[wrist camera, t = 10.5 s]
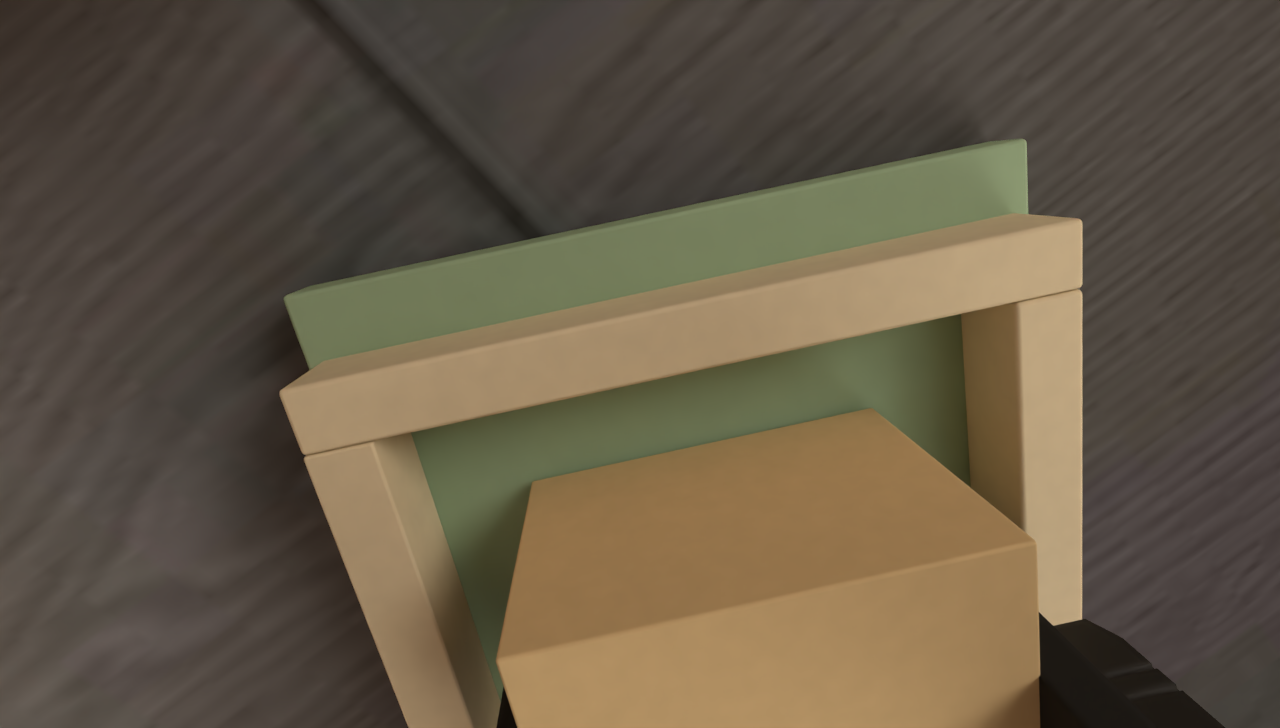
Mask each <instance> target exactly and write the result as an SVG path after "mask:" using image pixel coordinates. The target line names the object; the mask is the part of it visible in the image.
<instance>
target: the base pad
mask: <svg viewBox="0 0 1280 728" xmlns="http://www.w3.org/2000/svg"><path fill="white" fill-rule="evenodd" d="M1081 285H1082V221H1081V220H1080V219H1077V218H1067V217H1055V216H1042V215H1030V214H1028V183H1027V143H1026V140H1024V139H1012V140H1002V141H991V142H985V143H980V144H975V145H971V146H966V147H961V148H956V149H952V150H947V151H942V152H938V153H933V154H928V155H924V156H919V157H914V158H909V159H905V160H900V161H895V162H891V163H886V164H881V165H877V166H872V167H867V168H862V169H858V170H853V171H848V172H844V173H839V174H834V175H830V176H825V177H820V178H815V179H811V180H806V181H801V182H797V183H792V184H787V185H783V186H778V187H773V188H768V189H764V190H759V191H754V192H750V193H745V194H740V195H736V196H731V197H726V198H721V199H717V200H712V201H707V202H703V203H698V204H693V205H689V206H684V207H679V208H674V209H670V210H665V211H660V212H656V213H651V214H646V215H642V216H637V217H632V218H627V219H623V220H618V221H613V222H609V223H604V224H599V225H594V226H590V227H585V228H580V229H576V230H571V231H566V232H562V233H557V234H552V235H547V236H543V237H538V238H533V239H529V240H524V241H519V242H515V243H510V244H505V245H500V246H496V247H491V248H486V249H482V250H477V251H472V252H468V253H463V254H458V255H453V256H449V257H444V258H439V259H435V260H430V261H425V262H421V263H416V264H411V265H406V266H402V267H397V268H392V269H388V270H383V271H378V272H374V273H369V274H364V275H359V276H355V277H350V278H345V279H341V280H336V281H331V282H327V283H322V284H317V285H312V286H309V287H306V288H304V289H301V290H299V291H296V292H293V293H291V294H288V295H286V296H285V297H284V303H285V305H286V308H287V311H288V313H289V316H290V319H291V321H292V324H293V327H294V329H295V332H296V335H297V338H298V340H299V343H300V346H301V348H302V351H303V354H304V356H305V359H306V362H307V364H308V367H309V370H310V371H308V372H307V373H305V374H304V375H302V376H301V377H299V378H298V379H296V380H295V381H293V382H292V383H290V384H289V385H287V386H286V387H284V388H283V389H282V390H280V398H281V401H282V403H283V406H284V408H285V411H286V413H287V416H288V418H289V421H290V424H291V426H292V429H293V431H294V434H295V436H296V439H297V442H298V444H299V447H300V449H301V452H302V453H303V454H305V455H306V456H305V457H304V462H305V465H306V467H307V470H308V472H309V475H310V478H311V480H312V483H313V485H314V488H315V490H316V493H317V495H318V498H319V501H320V503H321V506H322V508H323V511H324V513H325V516H326V518H327V521H328V524H329V526H330V529H331V531H332V534H333V536H334V539H335V541H336V544H337V547H338V549H339V552H340V554H341V557H342V559H343V562H344V564H345V567H346V569H347V572H348V575H349V577H350V580H351V582H352V585H353V587H354V590H355V592H356V595H357V598H358V600H359V603H360V605H361V608H362V610H363V613H364V615H365V618H366V621H367V623H368V626H369V628H370V631H371V633H372V636H373V638H374V641H375V644H376V646H377V649H378V651H379V654H380V656H381V659H382V661H383V664H384V667H385V669H386V672H387V674H388V677H389V679H390V682H391V684H392V687H393V689H394V692H395V695H396V697H397V700H398V702H399V705H400V707H401V710H402V712H403V715H404V718H405V720H406V723H407V725H408V728H496V727H497V721H498V715H499V710H500V704H501V698H502V692H503V687H504V686H503V683H502V679H501V676H500V673H499V670H498V667H497V664H496V657H497V652H498V647H499V642H500V637H501V632H502V627H503V622H504V617H505V612H506V608H507V603H508V598H509V593H510V588H511V583H512V578H513V573H514V568H515V563H516V559H517V554H518V549H519V544H520V539H521V534H522V529H523V524H524V519H525V514H526V510H527V505H528V500H529V495H530V490H531V485H532V482H533V481H537V480H541V479H546V478H551V477H555V476H560V475H564V474H569V473H574V472H578V471H583V470H587V469H592V468H597V467H601V466H606V465H611V464H615V463H620V462H624V461H629V460H634V459H638V458H643V457H647V456H652V455H657V454H661V453H666V452H670V451H675V450H680V449H684V448H689V447H693V446H698V445H703V444H707V443H712V442H716V441H721V440H726V439H730V438H735V437H739V436H744V435H749V434H753V433H758V432H762V431H767V430H772V429H776V428H781V427H786V426H790V425H795V424H799V423H804V422H809V421H813V420H818V419H822V418H827V417H832V416H836V415H841V414H845V413H850V412H855V411H859V410H864V409H868V408H873V409H874V410H875V411H876V412H878V413H879V414H880V415H881V416H883V417H884V418H885V419H886V420H888V421H889V422H890V423H891V424H893V425H894V426H895V427H896V428H897V429H899V430H900V431H901V432H902V433H904V434H905V435H906V436H907V437H909V438H910V439H911V440H912V441H913V442H915V443H916V444H917V445H918V446H920V447H921V448H922V449H923V450H925V451H926V452H927V453H928V454H929V455H931V456H932V457H933V458H934V459H936V460H937V461H938V462H939V463H941V464H942V465H943V466H944V467H945V468H947V469H948V470H949V471H950V472H952V473H953V474H954V475H955V476H957V477H958V478H959V479H960V480H962V481H963V482H964V483H965V484H966V485H968V486H969V487H970V488H971V489H973V490H974V491H975V492H976V493H978V494H979V495H980V496H981V497H982V498H984V499H985V500H986V501H987V502H989V503H990V504H991V505H992V506H994V507H995V508H996V509H997V510H998V511H1000V512H1001V513H1002V514H1003V515H1005V516H1006V517H1007V518H1008V519H1010V520H1011V521H1012V522H1013V523H1014V524H1016V525H1017V526H1018V527H1019V528H1021V529H1022V530H1023V531H1024V532H1026V533H1027V534H1028V535H1029V536H1031V537H1032V538H1033V539H1034V540H1035V541H1036V543H1037V563H1038V601H1039V612H1040V613H1041V614H1042V615H1043V616H1044V617H1045V618H1046V619H1047V620H1048V621H1049V622H1050V623H1051V624H1052V625H1053V626H1055V625H1059V624H1064V623H1068V622H1073V621H1077V620H1082V292H1081V291H1080V290H1077V288H1080V287H1081Z"/></svg>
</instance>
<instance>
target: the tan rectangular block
mask: <svg viewBox="0 0 1280 728" xmlns="http://www.w3.org/2000/svg"><path fill="white" fill-rule="evenodd" d="M496 664H497V667H498V670H499V673H500V676H501V679H502V683H503V686H504V689H505V692H506V695H507V698H508V701H509V704H510V707H511V710H512V713H513V716H514V719H515V722H516V725H517V728H1040V699H1039V676H1040V639H1039V601H1038V563H1037V543H1036V541H1035V540H1034V539H1033V538H1032V537H1031V536H1029V535H1028V534H1027V533H1026V532H1024V531H1023V530H1022V529H1021V528H1019V527H1018V526H1017V525H1016V524H1014V523H1013V522H1012V521H1011V520H1010V519H1008V518H1007V517H1006V516H1005V515H1003V514H1002V513H1001V512H1000V511H998V510H997V509H996V508H995V507H994V506H992V505H991V504H990V503H989V502H987V501H986V500H985V499H984V498H982V497H981V496H980V495H979V494H978V493H976V492H975V491H974V490H973V489H971V488H970V487H969V486H968V485H966V484H965V483H964V482H963V481H962V480H960V479H959V478H958V477H957V476H955V475H954V474H953V473H952V472H950V471H949V470H948V469H947V468H945V467H944V466H943V465H942V464H941V463H939V462H938V461H937V460H936V459H934V458H933V457H932V456H931V455H929V454H928V453H927V452H926V451H925V450H923V449H922V448H921V447H920V446H918V445H917V444H916V443H915V442H913V441H912V440H911V439H910V438H909V437H907V436H906V435H905V434H904V433H902V432H901V431H900V430H899V429H897V428H896V427H895V426H894V425H893V424H891V423H890V422H889V421H888V420H886V419H885V418H884V417H883V416H881V415H880V414H879V413H878V412H876V411H875V410H874V409H873V408H868V409H864V410H859V411H855V412H850V413H845V414H841V415H836V416H832V417H827V418H822V419H818V420H813V421H809V422H804V423H799V424H795V425H790V426H786V427H781V428H776V429H772V430H767V431H762V432H758V433H753V434H749V435H744V436H739V437H735V438H730V439H726V440H721V441H716V442H712V443H707V444H703V445H698V446H693V447H689V448H684V449H680V450H675V451H670V452H666V453H661V454H657V455H652V456H647V457H643V458H638V459H634V460H629V461H624V462H620V463H615V464H611V465H606V466H601V467H597V468H592V469H587V470H583V471H578V472H574V473H569V474H564V475H560V476H555V477H551V478H546V479H541V480H537V481H533V482H532V485H531V490H530V495H529V500H528V505H527V510H526V514H525V519H524V524H523V529H522V534H521V539H520V544H519V549H518V554H517V559H516V563H515V568H514V573H513V578H512V583H511V588H510V593H509V598H508V603H507V608H506V612H505V617H504V622H503V627H502V632H501V637H500V642H499V647H498V652H497V657H496Z"/></svg>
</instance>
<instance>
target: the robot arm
mask: <svg viewBox="0 0 1280 728" xmlns="http://www.w3.org/2000/svg"><path fill="white" fill-rule="evenodd" d="M1039 639H1040V676H1039V699H1040V728H1225V727H1224V726H1223V725H1221V724H1220V723H1219V722H1218V721H1217V720H1216V719H1215V718H1213V717H1212V716H1211V715H1210V714H1209V713H1208V712H1207V711H1205V710H1204V709H1203V708H1202V707H1201V706H1200V705H1198V704H1197V703H1196V702H1195V701H1194V700H1193V699H1192V698H1190V697H1189V696H1188V695H1187V694H1186V693H1185V692H1184V691H1179V690H1178V689H1177V687H1176V684H1174V683H1173V682H1172V681H1171V680H1170V679H1169V678H1167V677H1166V676H1165V675H1164V674H1163V673H1162V672H1161V671H1159V670H1158V669H1154V668H1153V667H1152V664H1151V663H1150V662H1149V661H1148V660H1147V659H1146V658H1145V657H1143V656H1142V655H1141V654H1140V653H1139V652H1138V651H1136V650H1135V649H1134V648H1133V647H1132V646H1131V645H1130V644H1128V643H1127V642H1126V641H1125V640H1124V639H1123V638H1121V637H1119V636H1117V635H1115V634H1113V633H1112V632H1110V631H1108V630H1106V629H1104V628H1102V627H1100V626H1098V625H1096V624H1094V623H1092V622H1090V621H1088V620H1086V619H1082V620H1077V621H1073V622H1068V623H1064V624H1059V625H1055V626H1053V625H1052V624H1051V623H1050V622H1049V621H1048V620H1047V619H1046V618H1045V617H1044V616H1043V615H1042V614H1041V613H1040V612H1039ZM496 728H517V725H516V722H515V719H514V716H513V713H512V710H511V707H510V704H509V701H508V698H507V695H506V692H505V689H504V687H503V692H502V698H501V704H500V710H499V715H498V721H497V727H496Z"/></svg>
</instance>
